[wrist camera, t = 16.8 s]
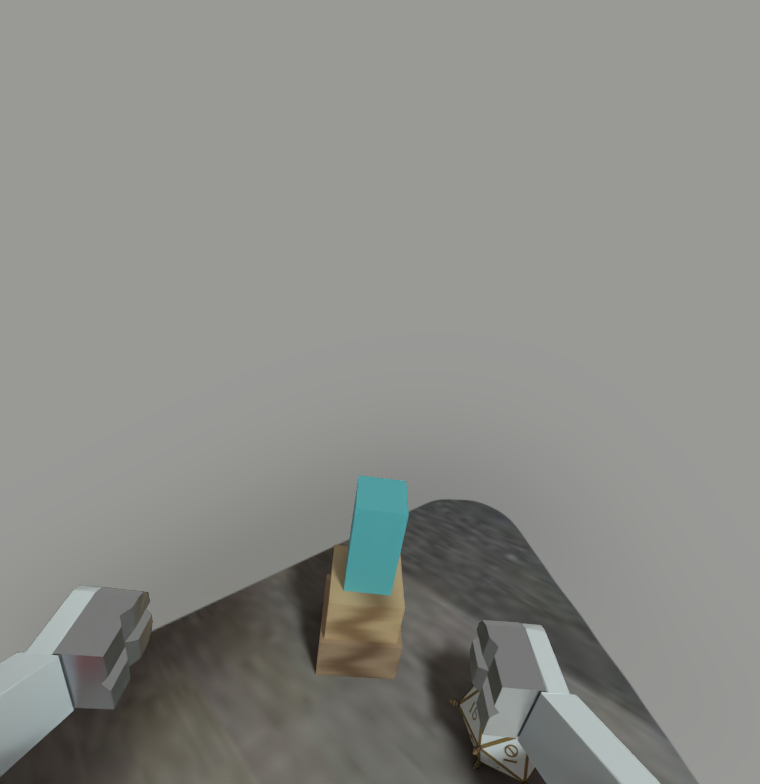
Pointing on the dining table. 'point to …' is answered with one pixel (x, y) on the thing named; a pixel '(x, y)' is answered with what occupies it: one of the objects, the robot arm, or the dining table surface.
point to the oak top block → (362, 608)
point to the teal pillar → (376, 535)
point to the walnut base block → (355, 653)
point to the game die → (493, 743)
